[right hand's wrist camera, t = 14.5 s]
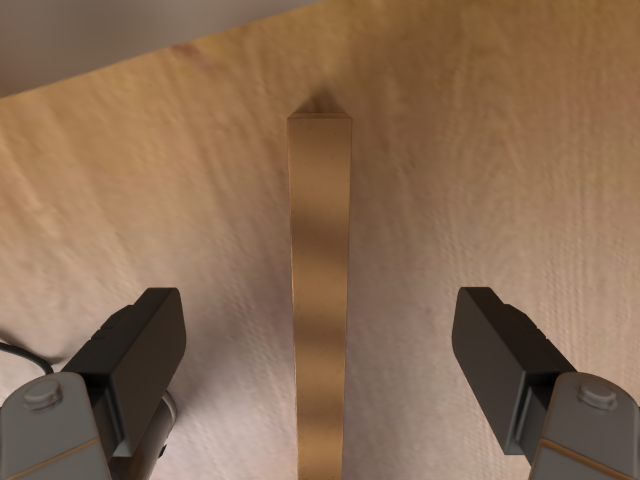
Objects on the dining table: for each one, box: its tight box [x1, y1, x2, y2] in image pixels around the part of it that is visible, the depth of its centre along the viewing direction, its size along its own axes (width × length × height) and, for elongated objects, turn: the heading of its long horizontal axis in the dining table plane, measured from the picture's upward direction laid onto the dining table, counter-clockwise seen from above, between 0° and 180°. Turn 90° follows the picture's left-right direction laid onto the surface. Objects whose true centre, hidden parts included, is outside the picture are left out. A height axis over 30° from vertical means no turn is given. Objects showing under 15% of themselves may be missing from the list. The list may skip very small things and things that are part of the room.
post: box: [287, 113, 352, 480], centre depth 43 cm, size 72×4×6 cm, turn 0°
